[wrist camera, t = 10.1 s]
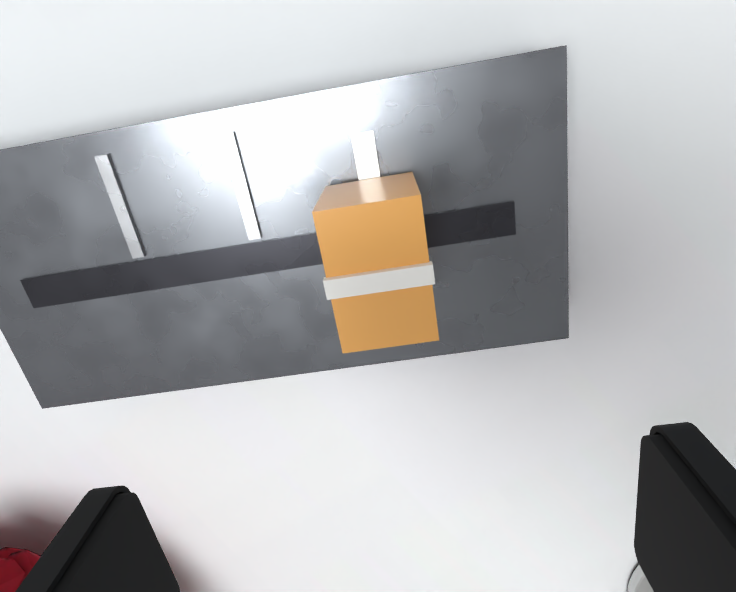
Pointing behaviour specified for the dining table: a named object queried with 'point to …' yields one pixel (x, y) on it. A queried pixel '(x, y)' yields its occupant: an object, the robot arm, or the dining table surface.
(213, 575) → the dining table surface
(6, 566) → the bouquet
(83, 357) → the block
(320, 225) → the fader knob
